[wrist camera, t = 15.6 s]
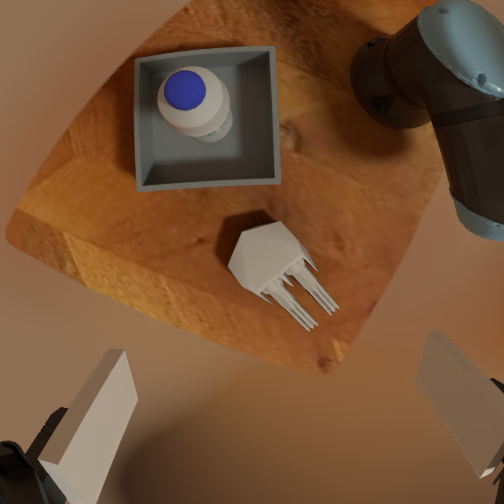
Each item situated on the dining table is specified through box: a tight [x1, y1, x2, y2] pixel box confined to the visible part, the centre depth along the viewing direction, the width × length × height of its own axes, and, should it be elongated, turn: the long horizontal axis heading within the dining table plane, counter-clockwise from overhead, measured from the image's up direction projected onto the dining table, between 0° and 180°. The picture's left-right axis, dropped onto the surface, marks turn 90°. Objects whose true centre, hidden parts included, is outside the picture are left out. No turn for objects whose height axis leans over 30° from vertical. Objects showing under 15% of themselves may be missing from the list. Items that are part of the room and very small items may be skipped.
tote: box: [134, 46, 281, 192], centre depth 39 cm, size 18×18×7 cm
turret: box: [228, 221, 339, 332], centre depth 47 cm, size 10×20×5 cm, turn 41°
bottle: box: [157, 66, 233, 143], centre depth 32 cm, size 7×7×20 cm
